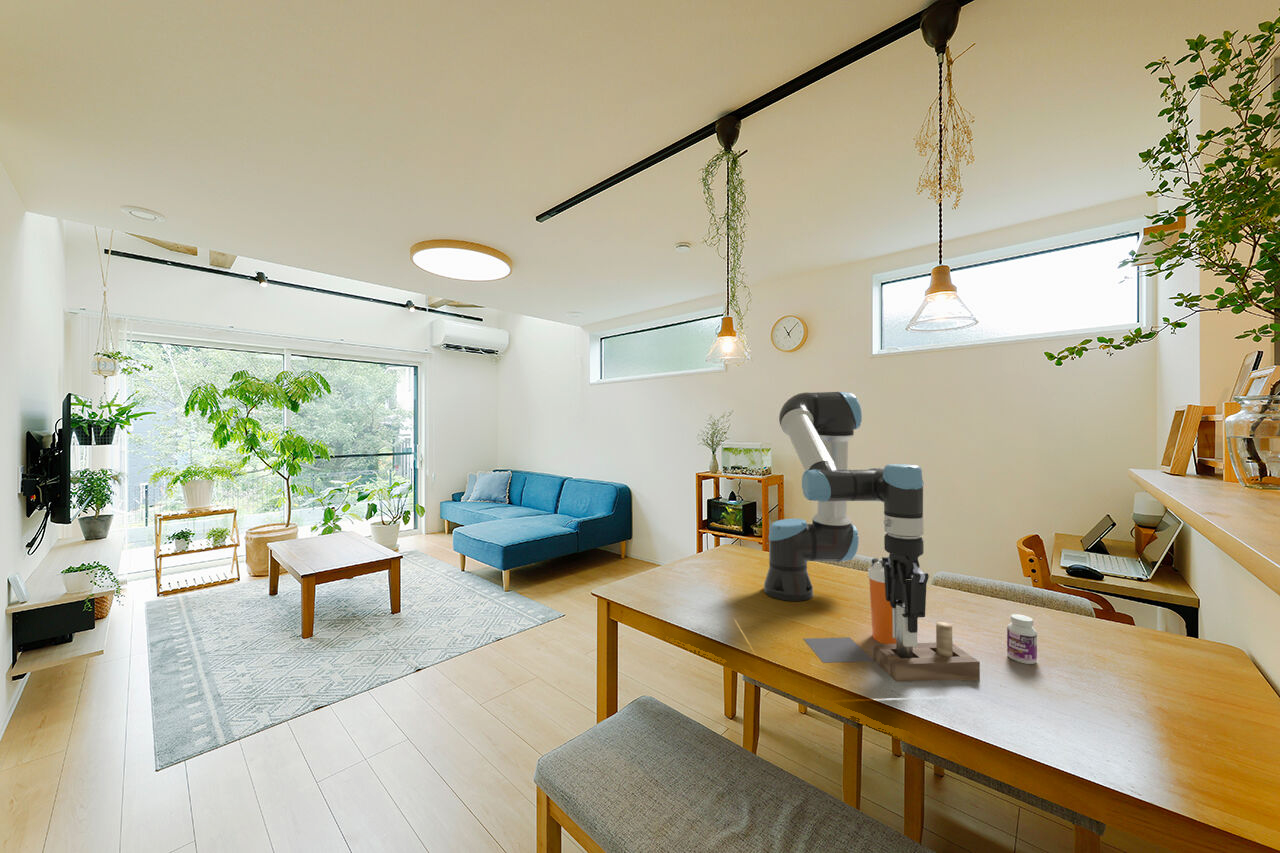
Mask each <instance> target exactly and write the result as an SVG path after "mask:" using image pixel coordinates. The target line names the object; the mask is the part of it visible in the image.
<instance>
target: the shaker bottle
mask: <svg viewBox="0 0 1280 853" xmlns="http://www.w3.org/2000/svg"><path fill="white" fill-rule="evenodd" d="M867 572H868V573H867V577H868V580H869V581H868V582H869V583H868V584H869V598H870V614H871V615H870V616H871V632H872V638H873V639H874V640H875V641H876V642H878V643H879V644H896V639H895V638H893V618H892V607H891V605H890V602H889V601H887V600H886V596H885V578H884V566H883V561H882V560H880V559H879V558H875V557H874V558H872V559H871V565H870V567H869V568H868V569H867ZM906 580H909V579H906ZM890 596H891V594H890Z"/></svg>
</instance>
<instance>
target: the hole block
mask: <svg viewBox="0 0 1280 853" xmlns="http://www.w3.org/2000/svg"><path fill="white" fill-rule="evenodd" d="M952 648H953V657H941V656H939V655H938V654H937V653H936V642H917V646H913V658H900V657H899V656H898V655H896V644H883V643H874V644H873V660H874V661H873V662H875V663H877V665H879V667H881V669H882V670H884V671H885V672H886V673H887V674H888V675H889V676H890V677H891V678H892V679H893V680H894V681H895V682H897V683H899V682H921V681H922V682H926V681H927V682H928V681H929V682H931V681H954V680H955V681H956V680H957V681H958V680H959V681H960V680H962V681H963V682H972V681H973V682H975V681H977V682H979V681H980V680H981V669H980V668H981V666H980V664H981V663H980V661H979V660H978V659H977V658H976V657H974V656H971V655H970V654H969V653H967V652H966V651H964V650H963V649H961V648H960V647H959V646H957V645H955V644H953V643H952Z"/></svg>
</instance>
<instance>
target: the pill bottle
mask: <svg viewBox="0 0 1280 853" xmlns="http://www.w3.org/2000/svg"><path fill="white" fill-rule="evenodd" d="M1033 626H1034V618H1032V617H1029V616H1027V615H1023V614H1019V613H1018V614H1017V613H1013V614H1010V623H1008V624H1007V627H1006V629H1007V630H1006V635H1007V636H1006V653H1007V656H1008V657H1009V658H1010V659H1012V660H1013V661H1016V662H1017V663H1022V664H1026V665H1033V664H1036V663H1037V661H1038V654H1037V653H1038V632H1037V630H1036V628H1034V627H1033Z"/></svg>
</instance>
